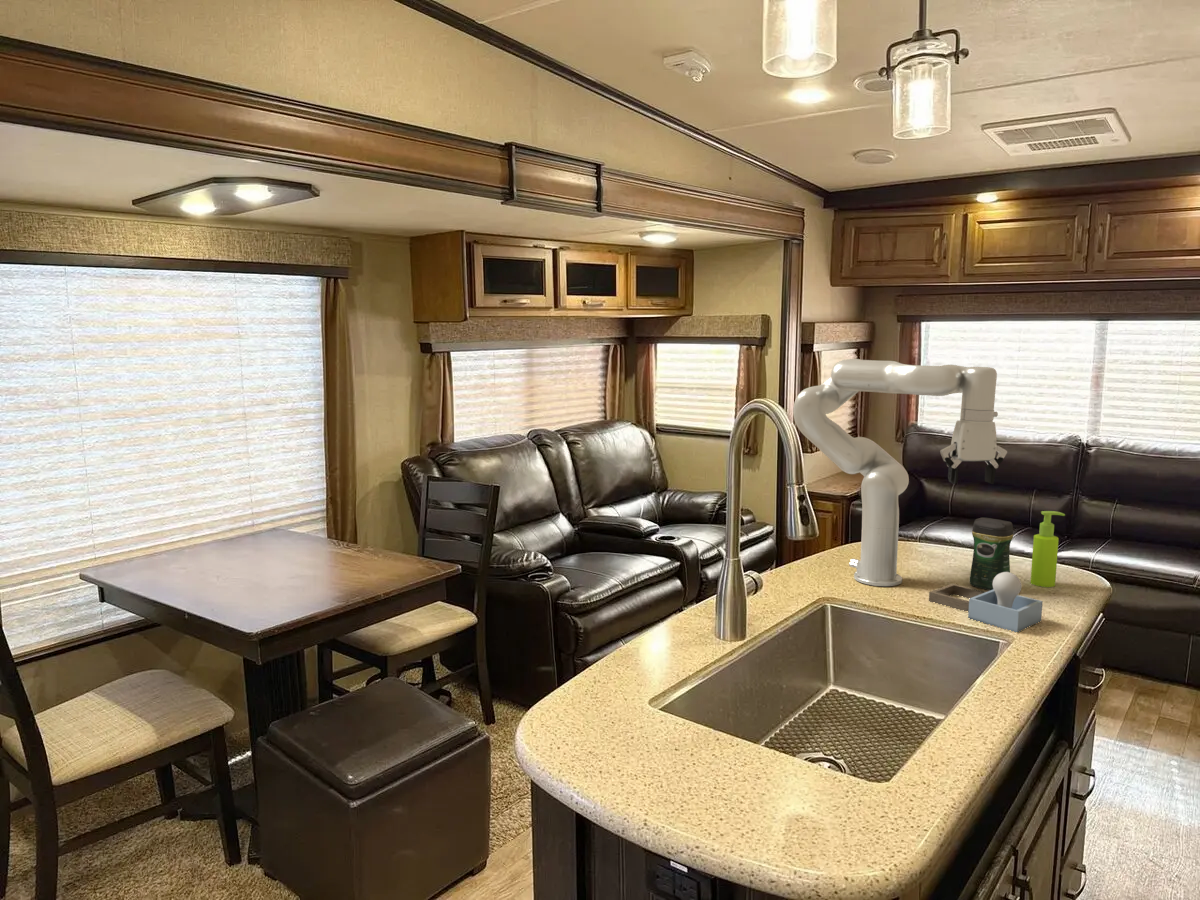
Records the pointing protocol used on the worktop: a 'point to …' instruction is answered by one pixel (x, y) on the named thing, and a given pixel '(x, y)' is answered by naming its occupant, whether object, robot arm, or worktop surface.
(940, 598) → the socket collar
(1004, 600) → the lightbulb
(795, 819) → the worktop surface
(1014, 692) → the worktop surface
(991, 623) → the box
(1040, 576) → the soap dispenser
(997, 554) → the coffee jar
